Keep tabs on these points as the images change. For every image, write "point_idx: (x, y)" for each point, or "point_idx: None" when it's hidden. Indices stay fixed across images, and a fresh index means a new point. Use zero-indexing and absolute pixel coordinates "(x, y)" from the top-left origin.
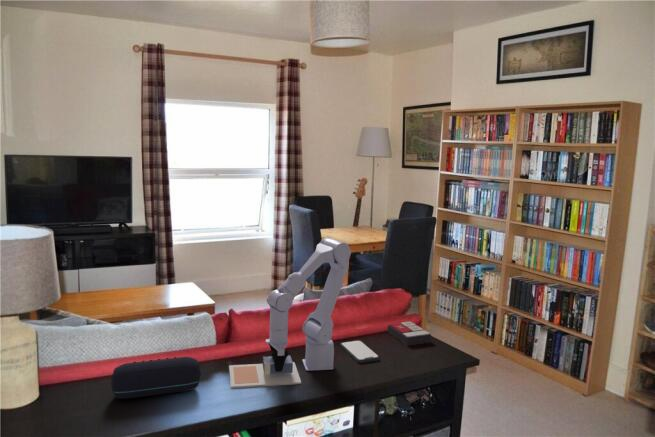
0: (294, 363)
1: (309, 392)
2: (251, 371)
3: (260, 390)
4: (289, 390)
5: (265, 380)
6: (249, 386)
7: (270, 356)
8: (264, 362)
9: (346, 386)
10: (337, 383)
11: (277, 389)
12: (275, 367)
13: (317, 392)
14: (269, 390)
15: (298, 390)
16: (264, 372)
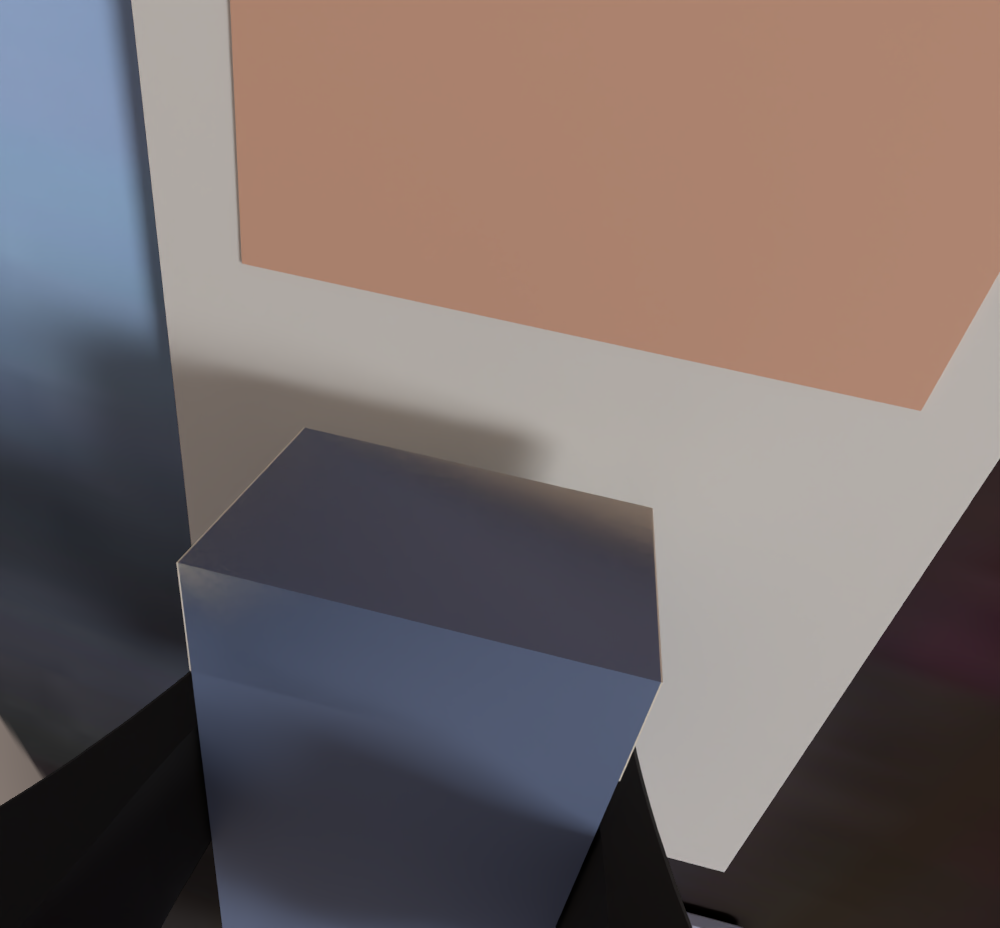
0: (686, 858)
1: (56, 708)
2: (722, 245)
3: (57, 217)
4: (83, 574)
5: (299, 392)
6: (154, 28)
7: (599, 811)
8: (303, 600)
9: (167, 922)
10: (216, 907)
11: (101, 463)
12: (179, 689)
13: (62, 755)
14: (67, 355)
15: (89, 648)
16: (286, 450)
